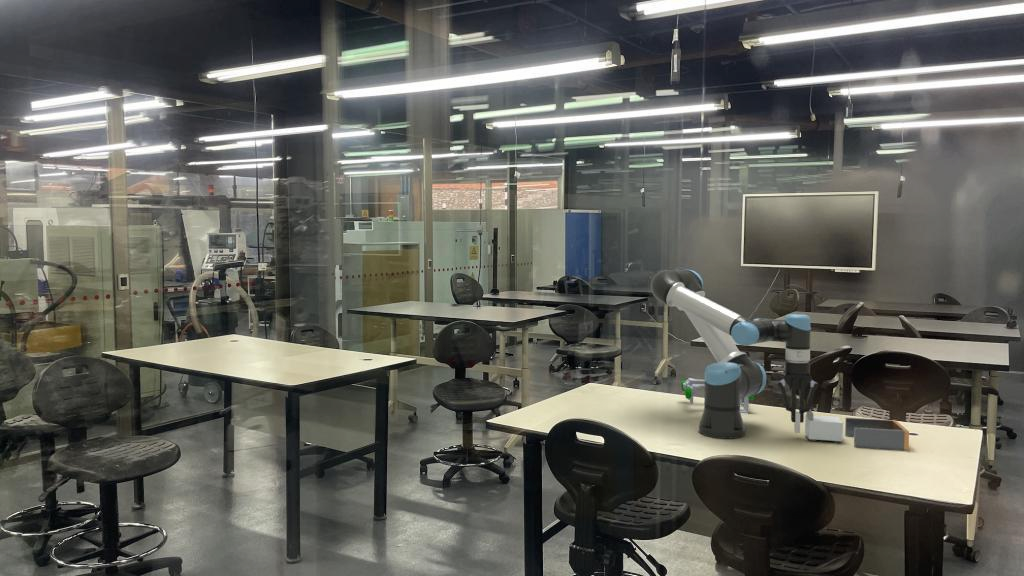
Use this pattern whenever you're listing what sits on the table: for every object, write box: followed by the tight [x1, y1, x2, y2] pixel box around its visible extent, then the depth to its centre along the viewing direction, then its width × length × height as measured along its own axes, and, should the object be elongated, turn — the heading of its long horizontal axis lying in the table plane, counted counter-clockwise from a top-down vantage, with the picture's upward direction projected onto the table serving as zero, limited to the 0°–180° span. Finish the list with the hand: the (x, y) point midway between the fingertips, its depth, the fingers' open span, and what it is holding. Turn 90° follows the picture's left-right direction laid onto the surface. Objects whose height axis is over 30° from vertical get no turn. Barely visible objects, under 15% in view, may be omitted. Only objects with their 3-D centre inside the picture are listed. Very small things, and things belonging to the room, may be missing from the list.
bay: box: [844, 417, 910, 452], centre depth 220 cm, size 15×14×6 cm
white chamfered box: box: [804, 409, 844, 444], centre depth 224 cm, size 10×8×9 cm
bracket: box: [680, 377, 755, 414], centre depth 269 cm, size 19×25×10 cm
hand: (797, 431), depth 226 cm, fingers closed
